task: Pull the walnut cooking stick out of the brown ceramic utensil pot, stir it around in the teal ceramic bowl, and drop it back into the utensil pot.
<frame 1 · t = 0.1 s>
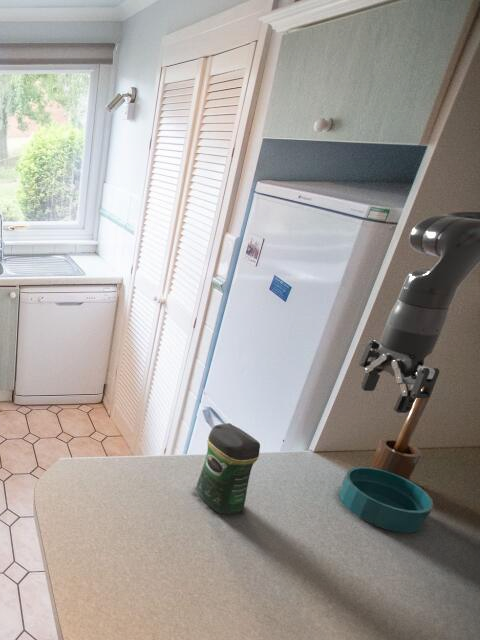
hand: (383, 400, 91), 27 cm above the countertop, tool pointing down, fingers open, 8 cm apart
utensil pot: (386, 477, 110), on the countertop
bowl: (378, 509, 100), on the countertop
cooking stick: (387, 475, 109), point 1 cm above the countertop, touching utensil pot
coffee jar: (218, 501, 103), on the countertop
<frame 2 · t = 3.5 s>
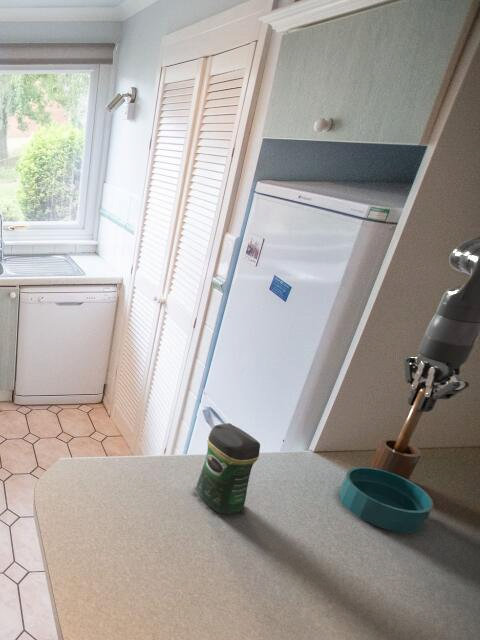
hand: (418, 407, 102), 20 cm above the countertop, tool pointing down, fingers closed on cooking stick, 2 cm apart
cooking stick: (387, 475, 109), point 1 cm above the countertop, touching gripper
everything else where it was.
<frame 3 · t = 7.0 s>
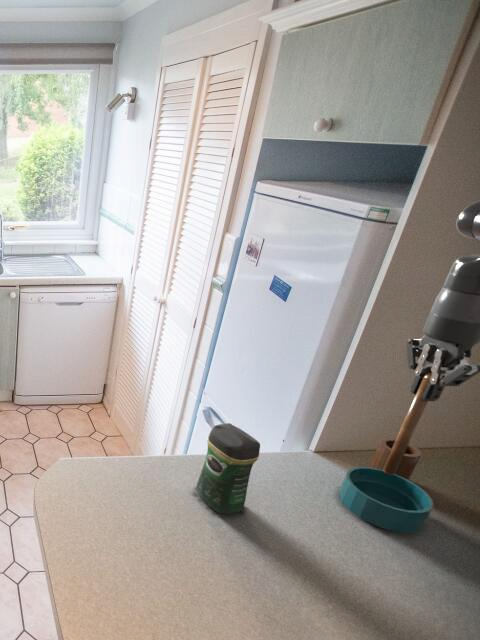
hand: (422, 396, 89), 29 cm above the countertop, tool pointing down, fingers closed on cooking stick
cooking stick: (387, 474, 96), point 10 cm above the countertop, touching gripper
everything else where it was.
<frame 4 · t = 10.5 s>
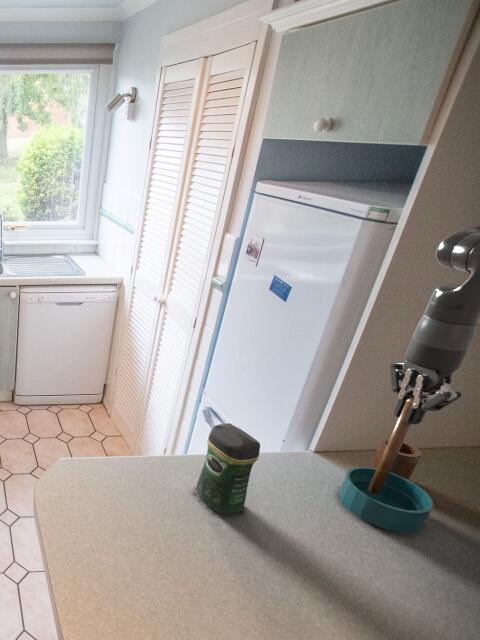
hand: (405, 419, 91), 23 cm above the countertop, tool pointing down, fingers closed on cooking stick
cooking stick: (373, 493, 98), point 4 cm above the countertop, touching gripper
everything else where it was.
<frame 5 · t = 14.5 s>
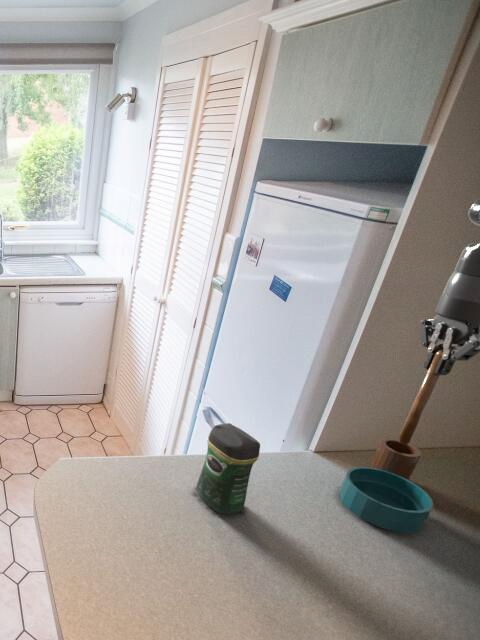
hand: (434, 371, 98), 29 cm above the countertop, tool pointing down, fingers closed on cooking stick
cooking stick: (402, 443, 106), point 10 cm above the countertop, touching gripper
everything else where it was.
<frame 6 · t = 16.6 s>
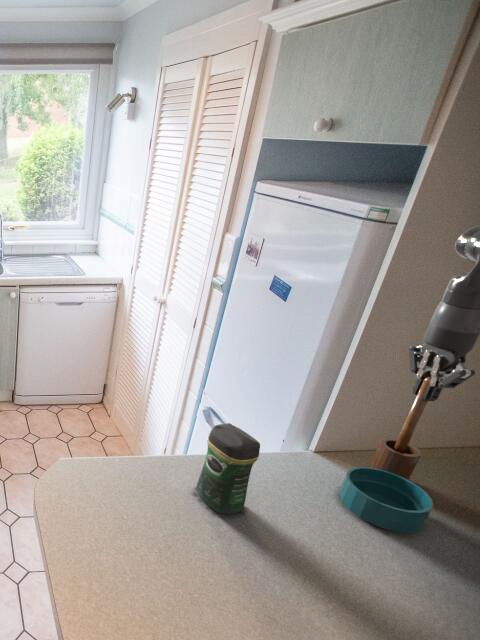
hand: (423, 397, 101), 23 cm above the countertop, tool pointing down, fingers closed on cooking stick
cooking stick: (391, 466, 108), point 4 cm above the countertop, touching gripper
everything else where it was.
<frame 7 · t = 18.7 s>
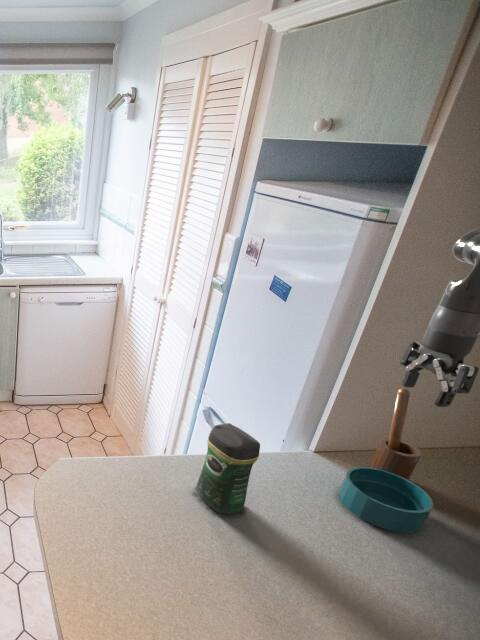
hand: (423, 395, 100), 23 cm above the countertop, tool pointing down, fingers open, 8 cm apart
cooking stick: (387, 475, 109), point 1 cm above the countertop, tilted 11°, touching utensil pot
everything else where it was.
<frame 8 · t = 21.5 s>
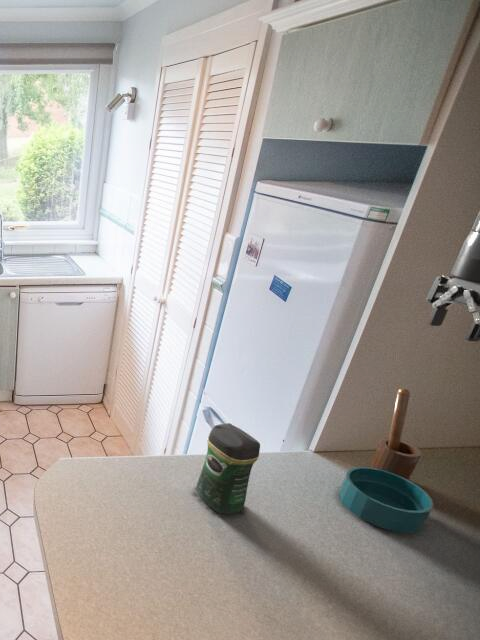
hand: (452, 332, 94), 38 cm above the countertop, tool pointing down, fingers open, 8 cm apart
nothing on the countertop moved.
at the end: cooking stick 0.1 cm off-centre in the utensil pot, point 0.8 cm above the utensil pot's base; cooking stick tilted 11°; the gripper is holding nothing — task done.
